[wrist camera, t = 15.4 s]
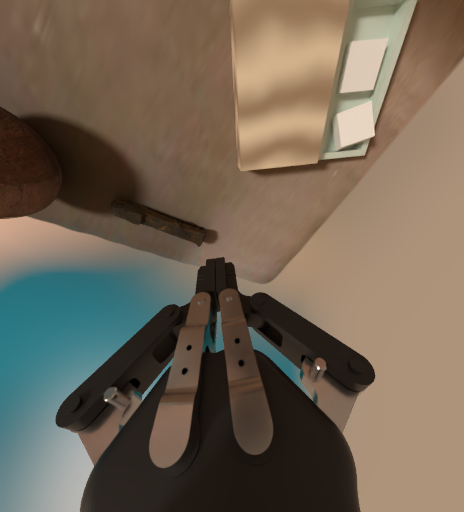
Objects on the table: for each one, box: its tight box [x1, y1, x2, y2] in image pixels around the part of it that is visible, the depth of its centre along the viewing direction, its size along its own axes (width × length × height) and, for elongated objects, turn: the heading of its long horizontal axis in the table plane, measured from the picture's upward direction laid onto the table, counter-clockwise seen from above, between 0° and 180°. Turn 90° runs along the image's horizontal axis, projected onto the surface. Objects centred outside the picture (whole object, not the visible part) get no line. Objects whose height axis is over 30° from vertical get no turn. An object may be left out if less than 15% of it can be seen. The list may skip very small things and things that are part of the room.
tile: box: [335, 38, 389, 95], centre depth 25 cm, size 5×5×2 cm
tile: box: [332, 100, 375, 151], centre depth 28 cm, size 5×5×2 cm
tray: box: [318, 0, 417, 160], centre depth 27 cm, size 18×9×2 cm, turn 5°
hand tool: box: [111, 200, 206, 247], centre depth 36 cm, size 19×4×5 cm, turn 60°
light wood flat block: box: [230, 0, 350, 171], centre depth 25 cm, size 18×13×5 cm
